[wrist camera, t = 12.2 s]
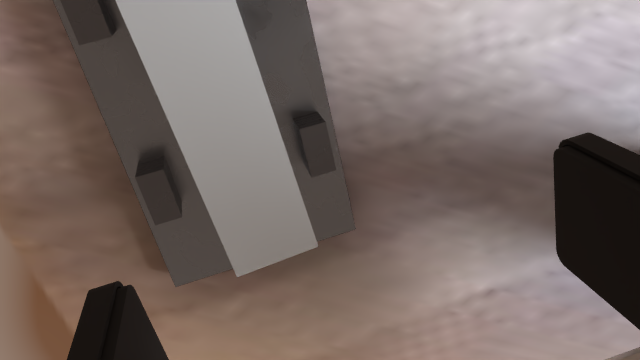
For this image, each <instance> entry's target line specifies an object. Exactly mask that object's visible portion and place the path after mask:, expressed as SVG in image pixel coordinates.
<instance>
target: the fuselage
mask: <svg viewBox="0 0 640 360" xmlns="http://www.w3.org/2000/svg"><path fill="white" fill-rule="evenodd" d="M115 1H116V3H117V5H118V8H119V10H120V12H121V14H122V17H123V19H124V21H125V23H126V26H127V28H128V30H129V33H130V35H131V37H132V39H133V42H134V44H135V46H136V48H137V51H138V53H139V55H140V58H141V60H142V62H143V64H144V67H145V69H146V71H147V74H148V76H149V78H150V80H151V83H152V85H153V87H154V89H155V92H156V94H157V96H158V99H159V101H160V103H161V105H162V108H163V110H164V112H165V114H166V117H167V119H168V121H169V124H170V126H171V128H172V130H173V133H174V135H175V137H176V139H177V142H178V144H179V146H180V149H181V151H182V153H183V155H184V158H185V160H186V162H187V164H188V167H189V169H190V171H191V174H192V176H193V178H194V180H195V183H196V185H197V187H198V189H199V192H200V194H201V196H202V199H203V201H204V203H205V205H206V208H207V210H208V212H209V215H210V217H211V219H212V221H213V224H214V226H215V228H216V230H217V233H218V235H219V237H220V240H221V242H222V244H223V246H224V249H225V251H226V253H227V255H228V258H229V260H230V262H231V265H232V267H233V269H234V271H235V274H236V276H237V277H240V276H242V275H245V274H248V273H250V272H253V271H255V270H258V269H261V268H263V267H266V266H269V265H271V264H274V263H277V262H279V261H282V260H285V259H287V258H290V257H292V256H295V255H298V254H300V253H303V252H306V251H308V250H311V249H314V248H316V247H318V244H317V241H316V238H315V235H314V232H313V229H312V226H311V223H310V220H309V217H308V214H307V211H306V208H305V205H304V202H303V199H302V196H301V193H300V190H299V187H298V184H297V181H296V178H295V175H294V172H293V169H292V166H291V163H290V160H289V157H288V155H287V152H286V149H285V146H284V143H283V140H282V137H281V134H280V131H279V128H278V125H277V122H276V119H275V116H274V113H273V110H272V107H271V104H270V101H269V98H268V95H267V92H266V89H265V86H264V83H263V80H262V77H261V74H260V71H259V68H258V65H257V62H256V59H255V56H254V53H253V51H252V48H251V45H250V42H249V39H248V36H247V33H246V30H245V27H244V24H243V21H242V18H241V15H240V12H239V9H238V6H237V3H236V0H115Z"/></svg>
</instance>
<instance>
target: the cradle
mask: <svg viewBox="0 0 640 360" xmlns="http://www.w3.org/2000/svg"><path fill="white" fill-rule="evenodd" d="M53 1H54V4H55V6H56V9H57V11H58V13H59V16H60V18H61V20H62V23H63V25H64V27H65V30H66V32H67V34H68V37H69V39H70V41H71V44H72V46H73V48H74V51H75V53H76V55H77V58H78V60H79V62H80V65H81V67H82V69H83V72H84V74H85V76H86V79H87V81H88V83H89V86H90V88H91V90H92V93H93V95H94V97H95V100H96V102H97V104H98V107H99V109H100V112H101V114H102V116H103V119H104V121H105V123H106V126H107V128H108V130H109V133H110V135H111V137H112V140H113V142H114V144H115V147H116V149H117V151H118V154H119V156H120V158H121V161H122V163H123V165H124V168H125V170H126V172H127V175H128V177H129V179H130V182H131V184H132V186H133V189H134V191H135V193H136V196H137V198H138V200H139V203H140V205H141V207H142V210H143V212H144V215H145V217H146V219H147V222H148V224H149V226H150V229H151V231H152V233H153V236H154V238H155V240H156V243H157V245H158V247H159V250H160V252H161V254H162V257H163V259H164V261H165V264H166V266H167V268H168V271H169V273H170V275H171V278H172V280H173V282H174V285H175V287H177V286H180V285H183V284H187V283H190V282H193V281H196V280H199V279H202V278H205V277H208V276H212V275H215V274H218V273H221V272H224V271H227V270H230V269H233V267H232V265H231V262H230V260H229V258H228V255H227V253H226V251H225V249H224V246H223V244H222V242H221V240H220V237H219V235H218V233H217V230H216V228H215V226H214V224H213V221H212V219H211V217H210V215H209V212H208V210H207V208H206V205H205V203H204V201H203V199H202V196H201V194H200V192H199V189H198V187H197V185H196V183H195V180H194V178H193V176H192V174H191V171H190V169H189V167H188V164H187V162H186V160H185V158H184V155H183V153H182V151H181V149H180V146H179V144H178V142H177V139H176V137H175V135H174V133H173V130H172V128H171V126H170V124H169V121H168V119H167V117H166V114H165V112H164V110H163V108H162V105H161V103H160V101H159V99H158V96H157V94H156V92H155V89H154V87H153V85H152V83H151V80H150V78H149V76H148V74H147V71H146V69H145V67H144V64H143V62H142V60H141V58H140V55H139V53H138V51H137V48H136V46H135V44H134V42H133V39H132V37H131V35H130V33H129V30H128V28H127V26H126V23H125V21H124V19H123V17H122V14H121V12H120V10H119V8H118V5H117V3H116V1H115V0H53ZM236 3H237V6H238V9H239V12H240V15H241V18H242V21H243V24H244V27H245V30H246V33H247V36H248V39H249V42H250V45H251V48H252V51H253V53H254V56H255V59H256V62H257V65H258V68H259V71H260V74H261V77H262V80H263V83H264V86H265V89H266V92H267V95H268V98H269V101H270V104H271V107H272V110H273V113H274V116H275V119H276V122H277V125H278V128H279V131H280V134H281V137H282V140H283V143H284V146H285V149H286V152H287V155H288V157H289V160H290V163H291V166H292V169H293V172H294V175H295V178H296V181H297V184H298V187H299V190H300V193H301V196H302V199H303V202H304V205H305V208H306V211H307V214H308V217H309V220H310V223H311V226H312V229H313V232H314V235H315V238H316V241H320V240H324V239H327V238H330V237H333V236H336V235H339V234H342V233H345V232H348V231H352V230H355V229H356V228H355V223H354V219H353V214H352V209H351V205H350V200H349V196H348V191H347V186H346V182H345V177H344V172H343V168H342V163H341V159H340V154H339V149H338V145H337V140H336V136H335V131H334V126H333V122H332V117H331V112H330V108H329V103H328V99H327V94H326V89H325V85H324V80H323V76H322V71H321V66H320V62H319V57H318V52H317V48H316V43H315V39H314V34H313V29H312V25H311V20H310V16H309V11H308V6H307V2H306V0H236Z"/></svg>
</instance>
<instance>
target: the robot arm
mask: <svg viewBox="0 0 640 360" xmlns="http://www.w3.org/2000/svg"><path fill="white" fill-rule="evenodd" d="M553 159H554V191H555V222H556V250H557V254H558V257H559V259H560V261H561V262H562V264H563V265H564V266H565V267H566V268H567V269H569V270H570V271H571V272H572V273H573V274H575V275H576V276H577V277H578V278H579V279H580V280H582V281H583V282H584V283H585V284H586V285H588V286H589V287H590V288H591V289H592V290H593V291H595V292H596V293H597V294H598V295H599V296H600V297H602V298H603V299H604V300H605V301H606V302H608V303H609V304H610V305H611V306H612V307H613V308H615V309H616V310H617V311H618V312H619V313H621V314H622V315H623V316H624V317H625V318H626V319H628V320H629V321H630V322H631V323H632V324H633V325H635V326H636V327H637V328H638V329H639V330H640V155H638V154H636V153H634V152H631V151H629V150H627V149H625V148H623V147H620V146H618V145H616V144H614V143H612V142H610V141H607V140H605V139H603V138H601V137H599V136H596V135H594V134H592V133H585V134H582V135H578V136H575V137H572V138H569V139H566V140H563V141H562V142H561V143H560V145H559V149H556V150H555V152H554V157H553ZM67 360H169V359H168V357H167V355H166V353H165V351H164V349H163V347H162V345H161V343H160V341H159V338H158V336H157V334H156V332H155V330H154V328H153V326H152V324H151V322H150V320H149V318H148V316H147V314H146V312H145V310H144V307H143V305H142V303H141V301H140V299H139V297H138V295H137V293H136V291H135V289H134V287H133V286H132V285H127V286H123V285H122V283H121V282H119V281H116V282H113V283H110V284H107V285H104V286H101V287H97V288H94V289H91V290H89V292H88V294H87V297H86V300H85V303H84V306H83V310H82V313H81V316H80V319H79V322H78V326H77V329H76V332H75V335H74V338H73V342H72V345H71V348H70V351H69V354H68V358H67ZM605 360H640V347H639V348H636V349H633V350H631V351H628V352H625V353H622V354H619V355H617V356H614V357H611V358H608V359H605Z"/></svg>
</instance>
